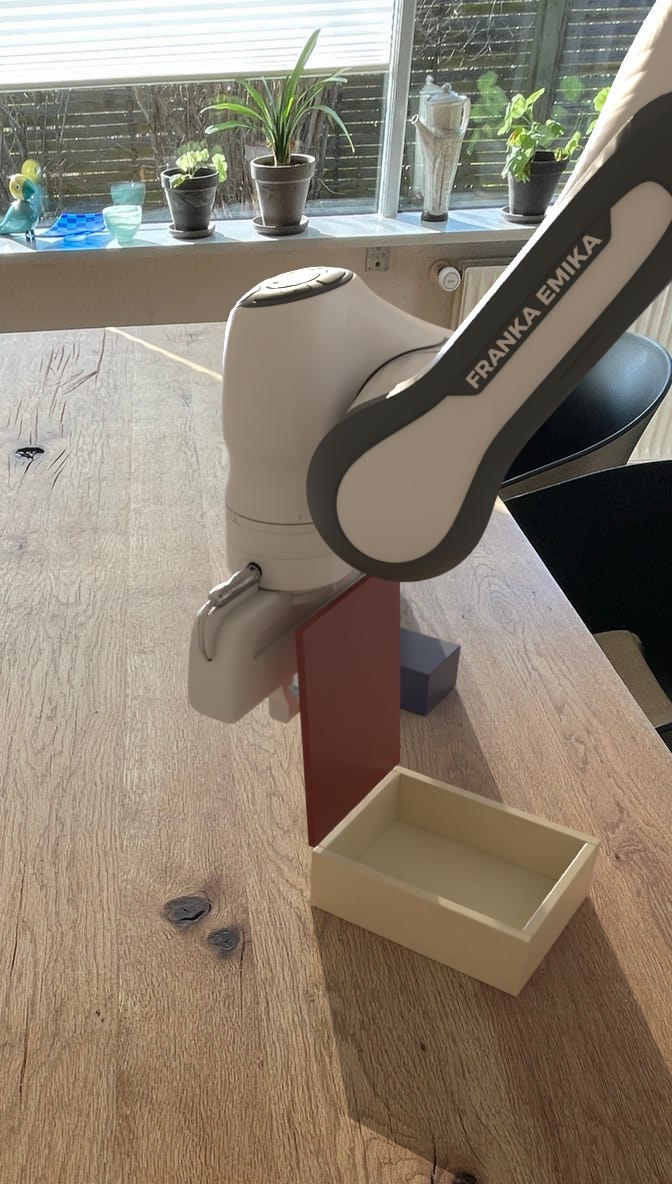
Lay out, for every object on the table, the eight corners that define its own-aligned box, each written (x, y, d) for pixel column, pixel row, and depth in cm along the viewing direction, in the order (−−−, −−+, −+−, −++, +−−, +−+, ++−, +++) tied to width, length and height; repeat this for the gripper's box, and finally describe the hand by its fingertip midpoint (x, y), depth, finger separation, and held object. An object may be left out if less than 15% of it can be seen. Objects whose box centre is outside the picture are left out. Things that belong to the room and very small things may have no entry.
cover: (400, 554, 79) (392, 553, 79) (302, 631, 71) (294, 629, 71) (400, 762, 89) (393, 760, 89) (315, 848, 81) (308, 846, 82)
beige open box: (588, 894, 85) (601, 839, 81) (516, 997, 77) (528, 942, 74) (392, 817, 93) (396, 764, 89) (309, 904, 85) (311, 850, 82)
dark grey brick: (456, 685, 107) (461, 645, 104) (424, 716, 104) (429, 675, 101) (363, 656, 112) (366, 616, 109) (331, 684, 108) (332, 644, 106)
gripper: (240, 615, 68) (244, 797, 77) (406, 494, 80) (393, 664, 89) (158, 589, 71) (171, 767, 80) (330, 476, 83) (324, 642, 92)
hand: (289, 712), depth 85 cm, fingers closed
